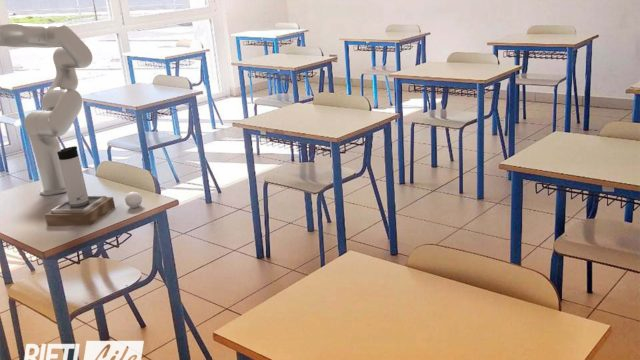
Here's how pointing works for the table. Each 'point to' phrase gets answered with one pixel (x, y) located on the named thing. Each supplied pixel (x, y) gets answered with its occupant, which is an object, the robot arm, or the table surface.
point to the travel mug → (73, 177)
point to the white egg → (133, 199)
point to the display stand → (80, 212)
